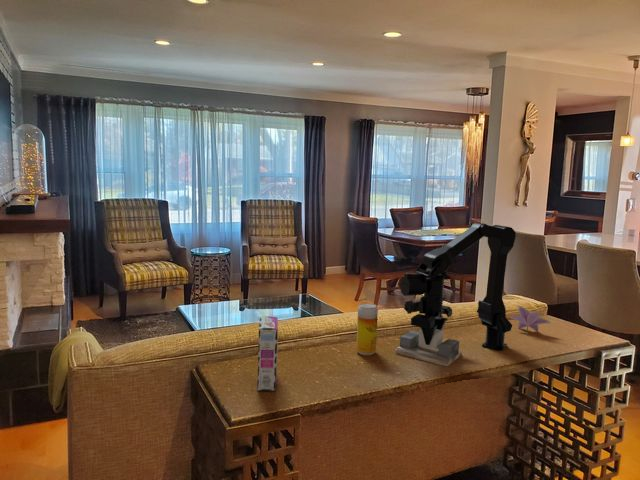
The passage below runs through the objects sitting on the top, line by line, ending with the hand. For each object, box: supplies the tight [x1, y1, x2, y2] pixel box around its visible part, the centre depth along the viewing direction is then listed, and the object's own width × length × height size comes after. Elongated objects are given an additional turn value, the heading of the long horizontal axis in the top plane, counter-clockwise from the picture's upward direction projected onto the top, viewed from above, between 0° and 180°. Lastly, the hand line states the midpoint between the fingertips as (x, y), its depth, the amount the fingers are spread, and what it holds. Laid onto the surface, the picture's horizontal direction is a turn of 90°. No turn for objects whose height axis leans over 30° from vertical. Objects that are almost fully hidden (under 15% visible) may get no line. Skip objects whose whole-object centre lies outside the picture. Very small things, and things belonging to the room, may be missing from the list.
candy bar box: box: [257, 316, 279, 392], centre depth 132 cm, size 11×5×16 cm, turn 5°
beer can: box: [355, 302, 379, 356], centre depth 156 cm, size 6×6×15 cm
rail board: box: [395, 330, 462, 367], centre depth 156 cm, size 12×16×5 cm
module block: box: [418, 328, 444, 350], centre depth 157 cm, size 4×6×5 cm
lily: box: [510, 305, 551, 336], centre depth 180 cm, size 12×12×10 cm
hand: (430, 342), depth 157 cm, fingers closed on module block, 4 cm apart
